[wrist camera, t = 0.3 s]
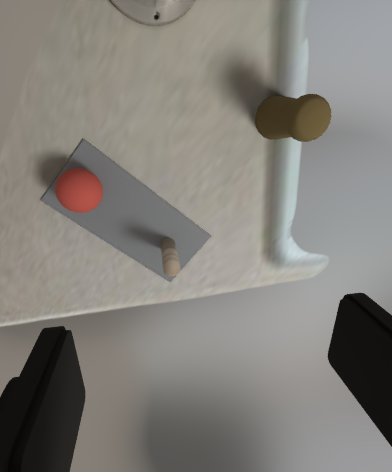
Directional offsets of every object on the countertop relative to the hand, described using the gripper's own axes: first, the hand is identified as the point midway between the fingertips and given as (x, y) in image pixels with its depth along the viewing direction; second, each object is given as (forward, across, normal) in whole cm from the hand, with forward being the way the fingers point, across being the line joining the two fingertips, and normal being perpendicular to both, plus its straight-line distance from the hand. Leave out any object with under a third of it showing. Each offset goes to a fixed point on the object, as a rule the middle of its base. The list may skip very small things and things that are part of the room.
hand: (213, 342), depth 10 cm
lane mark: (+35, +5, +8) cm, 37 cm away
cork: (+36, -17, -7) cm, 40 cm away
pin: (+35, 0, +12) cm, 37 cm away
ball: (+32, +11, +2) cm, 34 cm away
